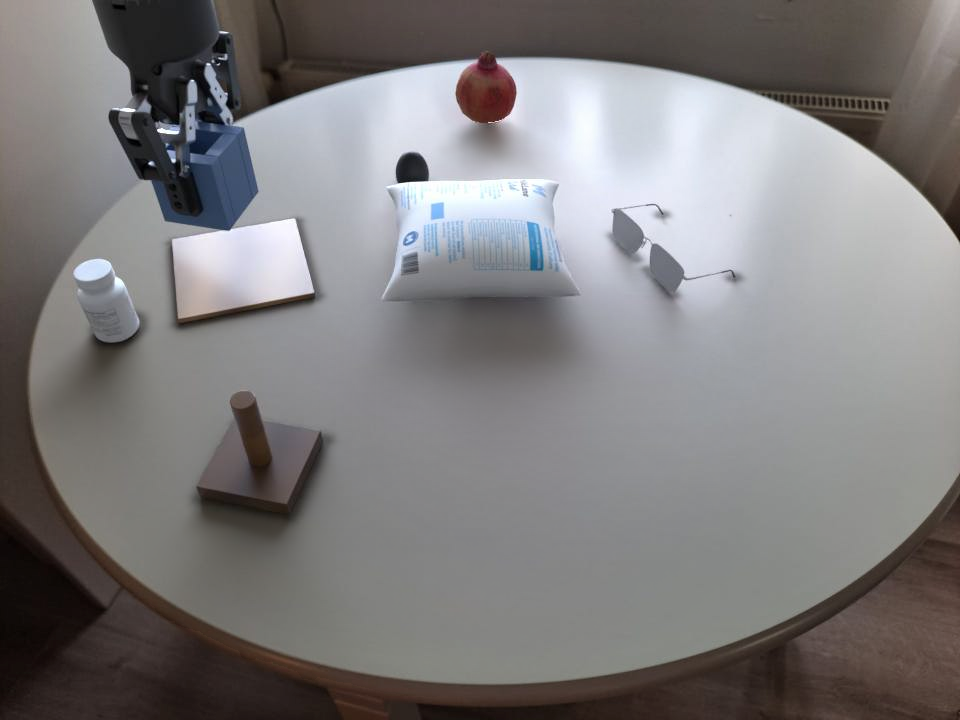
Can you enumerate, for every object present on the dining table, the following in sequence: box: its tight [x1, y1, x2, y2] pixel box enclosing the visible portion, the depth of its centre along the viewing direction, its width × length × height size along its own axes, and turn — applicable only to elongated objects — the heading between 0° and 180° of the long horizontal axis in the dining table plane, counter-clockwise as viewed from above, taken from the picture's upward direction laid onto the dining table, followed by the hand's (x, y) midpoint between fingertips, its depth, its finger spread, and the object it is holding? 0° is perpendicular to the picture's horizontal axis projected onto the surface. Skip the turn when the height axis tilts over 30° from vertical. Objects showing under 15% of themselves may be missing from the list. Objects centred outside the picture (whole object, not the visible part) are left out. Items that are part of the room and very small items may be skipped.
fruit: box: [455, 50, 518, 125], centre depth 108 cm, size 8×8×10 cm
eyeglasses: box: [610, 203, 736, 292], centre depth 90 cm, size 14×8×4 cm, turn 27°
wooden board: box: [171, 217, 316, 324], centre depth 88 cm, size 14×14×1 cm
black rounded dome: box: [395, 149, 430, 184], centre depth 98 cm, size 4×4×5 cm
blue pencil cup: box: [148, 120, 259, 231], centre depth 64 cm, size 6×6×6 cm
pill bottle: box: [73, 258, 140, 343], centre depth 79 cm, size 4×4×8 cm
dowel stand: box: [195, 389, 324, 515], centre depth 67 cm, size 8×8×9 cm
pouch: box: [381, 178, 582, 302], centre depth 87 cm, size 8×19×20 cm
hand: (208, 190), depth 65 cm, fingers closed on blue pencil cup, 5 cm apart
